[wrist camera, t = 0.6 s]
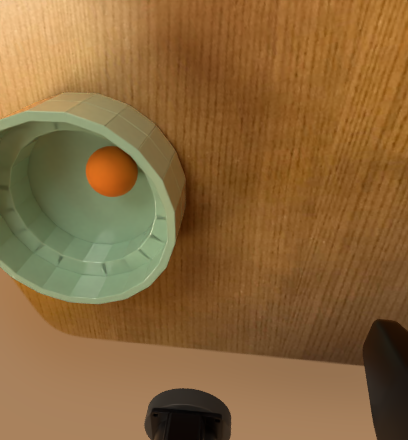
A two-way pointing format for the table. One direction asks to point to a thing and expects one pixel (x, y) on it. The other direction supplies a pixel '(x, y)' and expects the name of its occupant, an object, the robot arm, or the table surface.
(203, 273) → the table surface
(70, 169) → the bowl
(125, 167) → the bead
